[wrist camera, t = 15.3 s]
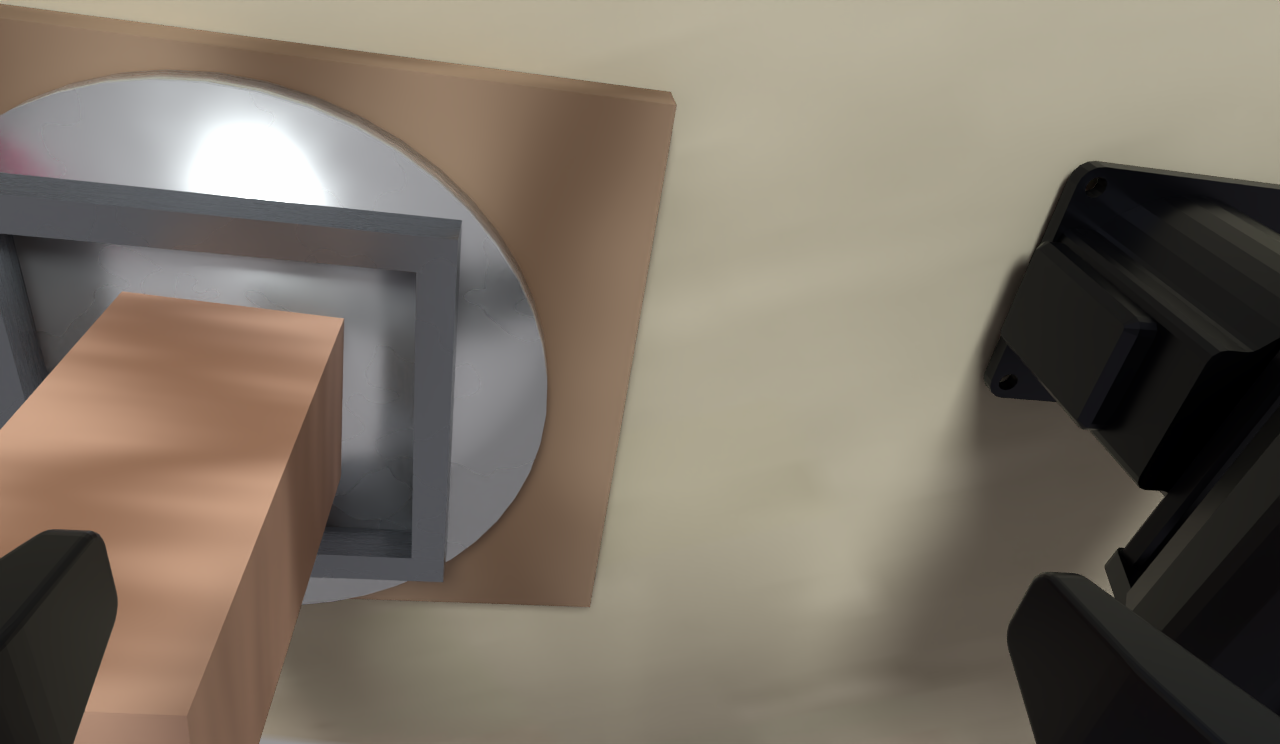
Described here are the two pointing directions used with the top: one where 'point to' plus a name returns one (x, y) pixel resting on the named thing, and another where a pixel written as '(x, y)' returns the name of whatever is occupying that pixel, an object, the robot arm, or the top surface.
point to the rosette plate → (288, 286)
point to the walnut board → (511, 200)
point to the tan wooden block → (186, 501)
